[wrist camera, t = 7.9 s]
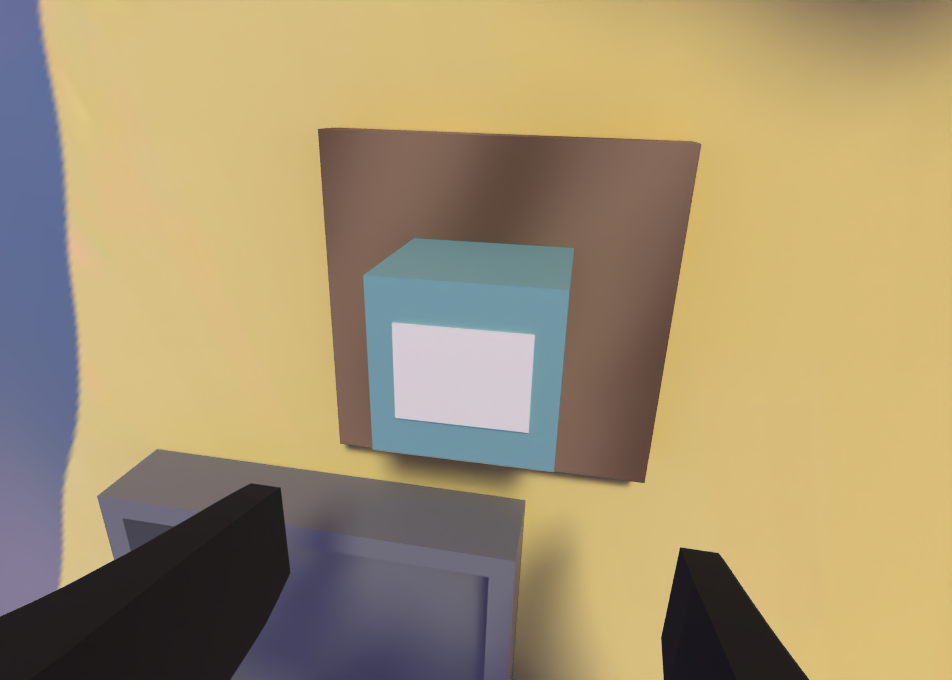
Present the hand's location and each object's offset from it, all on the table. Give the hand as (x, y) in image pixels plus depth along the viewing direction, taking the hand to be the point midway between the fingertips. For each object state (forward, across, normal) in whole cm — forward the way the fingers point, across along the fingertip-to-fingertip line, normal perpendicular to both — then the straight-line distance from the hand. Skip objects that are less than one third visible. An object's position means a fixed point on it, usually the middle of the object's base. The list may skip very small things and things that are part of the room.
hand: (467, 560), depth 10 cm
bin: (+9, +7, +15) cm, 19 cm away
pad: (+9, +1, -2) cm, 9 cm away
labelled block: (+8, +1, -2) cm, 8 cm away
